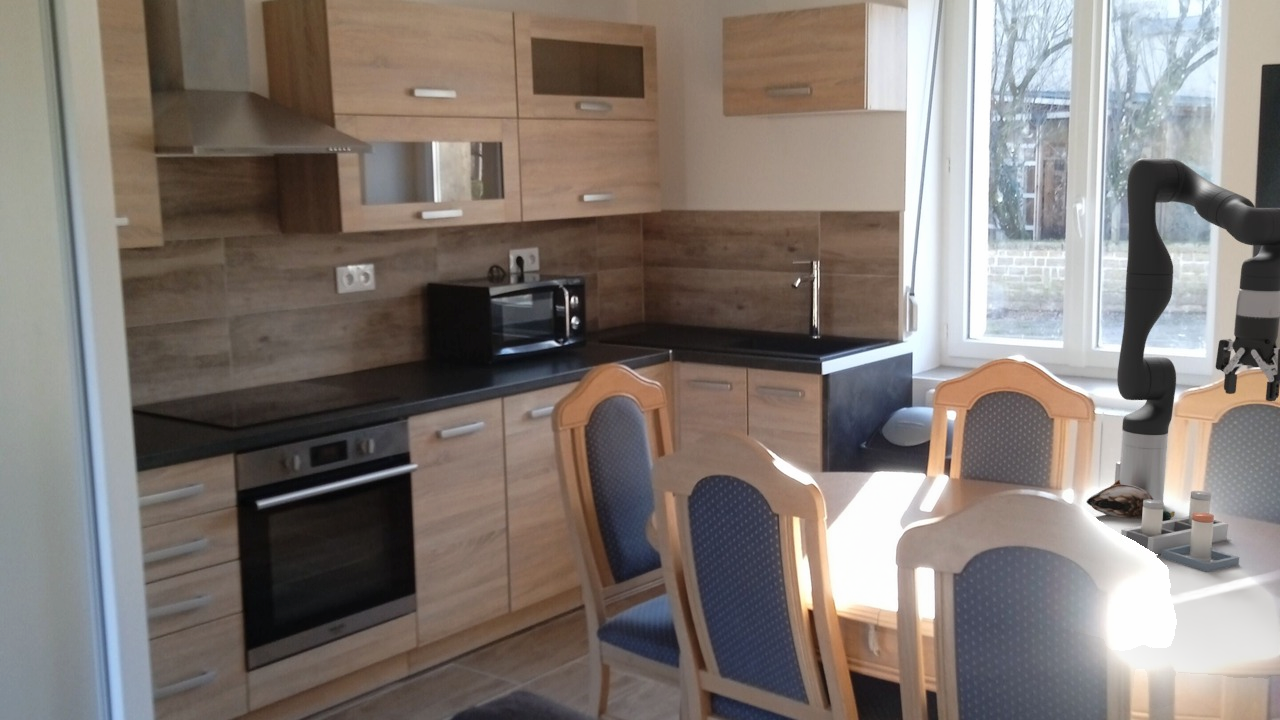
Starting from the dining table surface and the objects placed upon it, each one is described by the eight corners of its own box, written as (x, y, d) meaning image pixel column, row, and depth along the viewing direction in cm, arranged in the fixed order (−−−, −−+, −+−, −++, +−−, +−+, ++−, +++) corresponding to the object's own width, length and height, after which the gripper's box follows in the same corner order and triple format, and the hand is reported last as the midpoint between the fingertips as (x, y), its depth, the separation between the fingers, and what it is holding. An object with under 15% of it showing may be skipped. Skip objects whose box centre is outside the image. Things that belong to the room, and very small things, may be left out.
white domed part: (1183, 536, 246) (1186, 492, 244) (1195, 534, 248) (1198, 490, 246) (1199, 541, 243) (1203, 496, 241) (1211, 538, 245) (1214, 494, 243)
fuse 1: (1135, 546, 239) (1139, 500, 238) (1148, 543, 241) (1151, 498, 239) (1151, 551, 236) (1155, 505, 235) (1164, 548, 238) (1167, 502, 236)
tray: (1160, 563, 232) (1161, 550, 232) (1191, 556, 237) (1192, 543, 236) (1207, 578, 224) (1208, 564, 224) (1238, 571, 228) (1239, 557, 228)
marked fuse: (1185, 560, 231) (1188, 513, 230) (1197, 558, 233) (1200, 511, 231) (1202, 566, 228) (1205, 518, 226) (1214, 563, 230) (1218, 515, 228)
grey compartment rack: (1115, 551, 240) (1117, 528, 239) (1193, 535, 251) (1194, 513, 251) (1152, 562, 233) (1154, 540, 232) (1230, 545, 244) (1232, 524, 243)
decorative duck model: (1186, 500, 254) (1125, 503, 249) (1179, 535, 255) (1119, 538, 250) (1136, 476, 267) (1078, 478, 263) (1130, 509, 269) (1072, 512, 264)
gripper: (1305, 316, 232) (1297, 401, 235) (1236, 308, 245) (1229, 389, 247) (1280, 318, 229) (1272, 405, 231) (1211, 310, 241) (1204, 392, 244)
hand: (1250, 397), depth 239 cm, fingers open, 8 cm apart
